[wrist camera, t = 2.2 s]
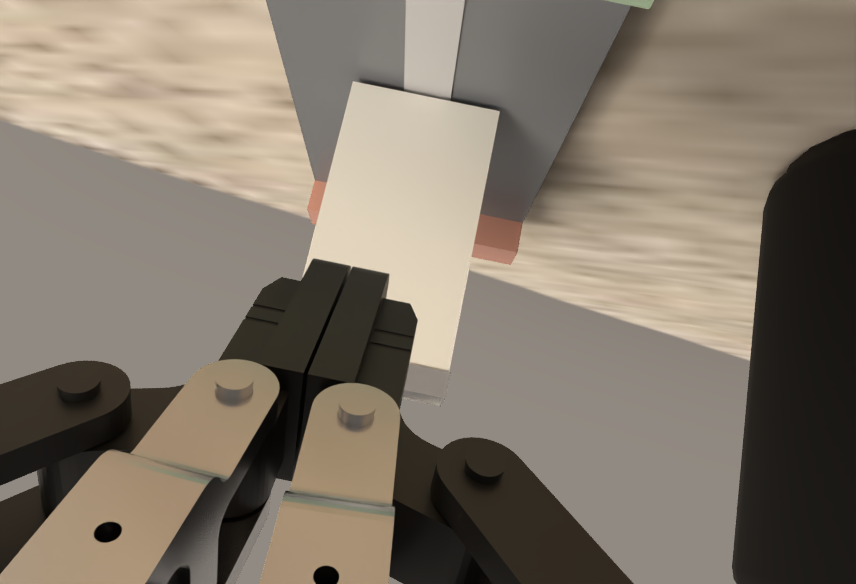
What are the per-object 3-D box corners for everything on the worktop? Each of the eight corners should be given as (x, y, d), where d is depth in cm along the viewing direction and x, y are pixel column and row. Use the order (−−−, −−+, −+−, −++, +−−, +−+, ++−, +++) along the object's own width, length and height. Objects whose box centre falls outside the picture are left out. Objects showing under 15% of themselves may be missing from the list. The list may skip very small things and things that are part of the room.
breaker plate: (233, -287, 15) (186, -156, 14) (702, -194, 15) (684, -55, 14) (328, 160, 36) (312, 223, 35) (522, 199, 36) (510, 264, 35)
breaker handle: (351, 80, 24) (278, 363, 21) (501, 111, 24) (445, 398, 21) (355, 116, 26) (290, 375, 24) (491, 144, 26) (440, 406, 24)
